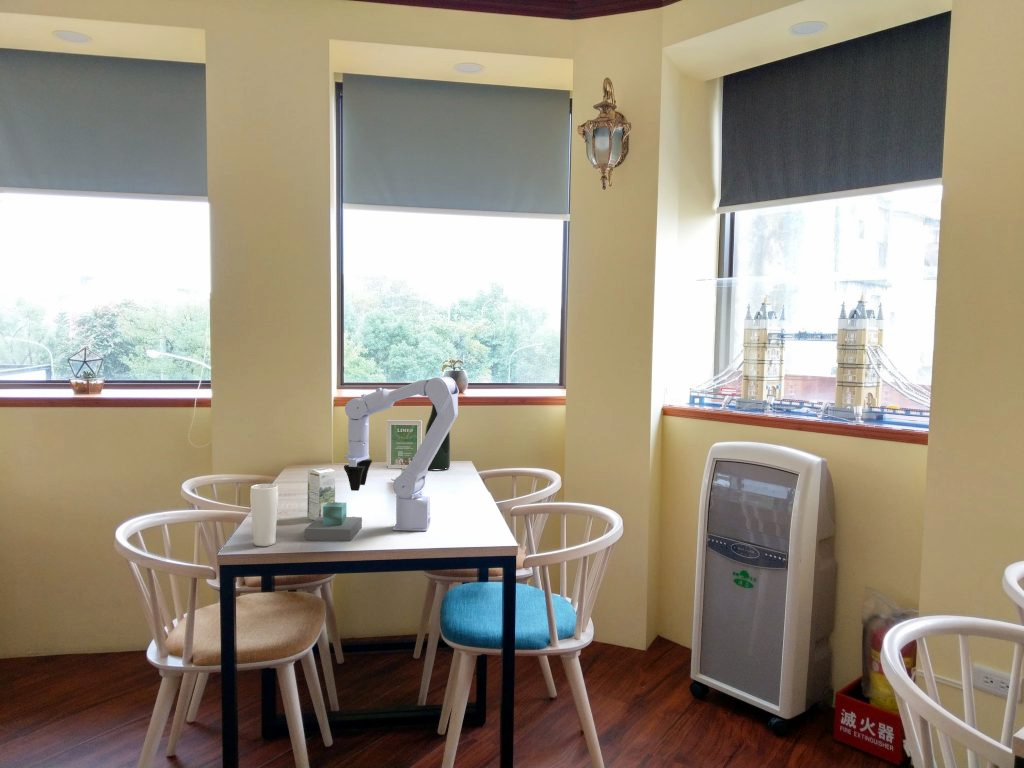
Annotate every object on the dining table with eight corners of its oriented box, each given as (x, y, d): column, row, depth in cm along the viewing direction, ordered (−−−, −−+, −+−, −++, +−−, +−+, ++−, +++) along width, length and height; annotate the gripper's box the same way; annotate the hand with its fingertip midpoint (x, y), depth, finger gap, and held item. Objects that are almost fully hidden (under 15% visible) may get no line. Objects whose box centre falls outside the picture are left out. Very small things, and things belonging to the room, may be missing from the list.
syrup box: (323, 515, 215) (323, 466, 214) (335, 518, 211) (335, 469, 210) (307, 518, 210) (307, 469, 209) (319, 522, 207) (319, 472, 206)
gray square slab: (361, 527, 201) (361, 517, 201) (350, 540, 188) (350, 529, 188) (319, 526, 201) (319, 516, 201) (305, 539, 188) (305, 528, 188)
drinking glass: (266, 549, 180) (265, 489, 179) (244, 546, 182) (244, 487, 181) (284, 542, 186) (284, 484, 185) (263, 539, 188) (262, 482, 187)
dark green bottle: (423, 466, 297) (424, 387, 295) (448, 466, 299) (449, 387, 297) (425, 471, 287) (425, 388, 285) (451, 470, 289) (452, 389, 287)
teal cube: (346, 520, 197) (346, 502, 197) (341, 525, 192) (341, 506, 192) (328, 520, 197) (328, 502, 197) (323, 525, 192) (323, 506, 192)
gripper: (350, 436, 211) (350, 482, 212) (337, 443, 197) (337, 492, 198) (374, 436, 211) (374, 482, 212) (363, 444, 197) (363, 493, 198)
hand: (358, 487), depth 205 cm, fingers open, 7 cm apart
